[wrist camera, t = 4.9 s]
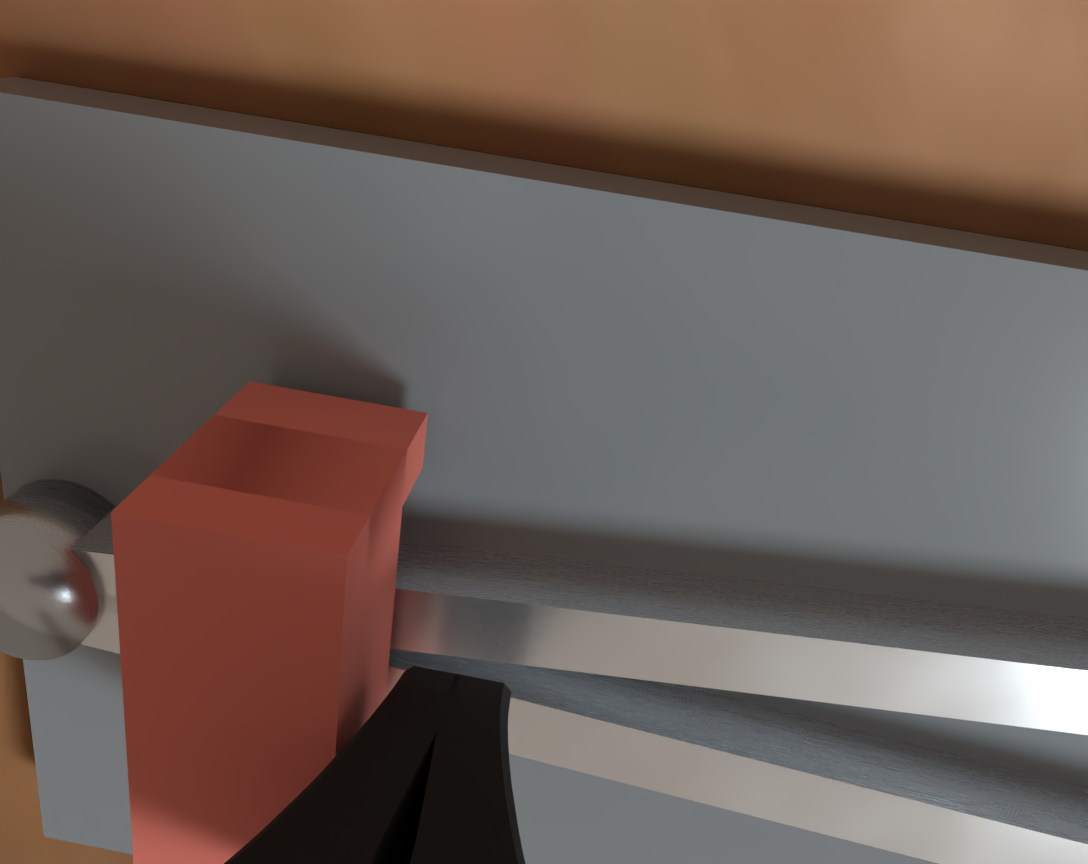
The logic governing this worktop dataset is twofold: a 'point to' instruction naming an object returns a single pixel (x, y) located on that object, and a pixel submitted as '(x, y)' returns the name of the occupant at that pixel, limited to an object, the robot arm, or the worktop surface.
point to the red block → (256, 610)
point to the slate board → (549, 398)
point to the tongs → (677, 679)
